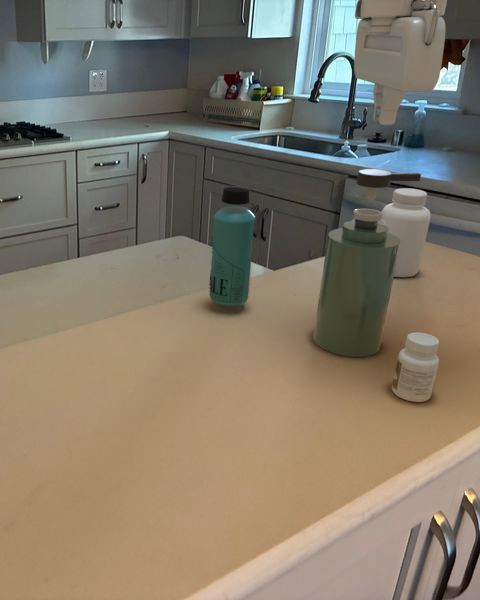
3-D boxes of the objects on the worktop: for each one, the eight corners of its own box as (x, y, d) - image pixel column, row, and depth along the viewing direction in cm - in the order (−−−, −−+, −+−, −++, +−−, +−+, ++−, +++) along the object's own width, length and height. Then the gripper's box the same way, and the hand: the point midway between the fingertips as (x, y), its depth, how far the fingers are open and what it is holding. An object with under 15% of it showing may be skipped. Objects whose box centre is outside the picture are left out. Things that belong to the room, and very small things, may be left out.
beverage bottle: (252, 303, 103) (264, 184, 95) (240, 318, 97) (251, 194, 89) (215, 296, 106) (223, 180, 98) (201, 310, 100) (208, 190, 92)
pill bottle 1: (416, 281, 110) (433, 199, 103) (367, 273, 113) (381, 193, 107) (420, 267, 116) (437, 188, 110) (374, 260, 120) (388, 184, 113)
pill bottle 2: (397, 380, 80) (409, 326, 76) (435, 392, 77) (448, 337, 74) (385, 394, 77) (397, 339, 74) (424, 407, 74) (437, 350, 71)
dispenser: (369, 329, 93) (392, 203, 85) (388, 358, 85) (416, 222, 77) (307, 327, 94) (325, 202, 86) (320, 355, 86) (341, 221, 78)
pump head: (409, 196, 82) (414, 169, 81) (420, 204, 78) (426, 175, 77) (350, 195, 83) (354, 168, 82) (358, 203, 79) (363, 175, 78)
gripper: (472, -5, 62) (443, 136, 67) (403, 2, 80) (384, 112, 86) (406, -2, 62) (382, 137, 68) (352, 4, 81) (337, 113, 87)
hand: (383, 123), depth 77 cm, fingers closed
